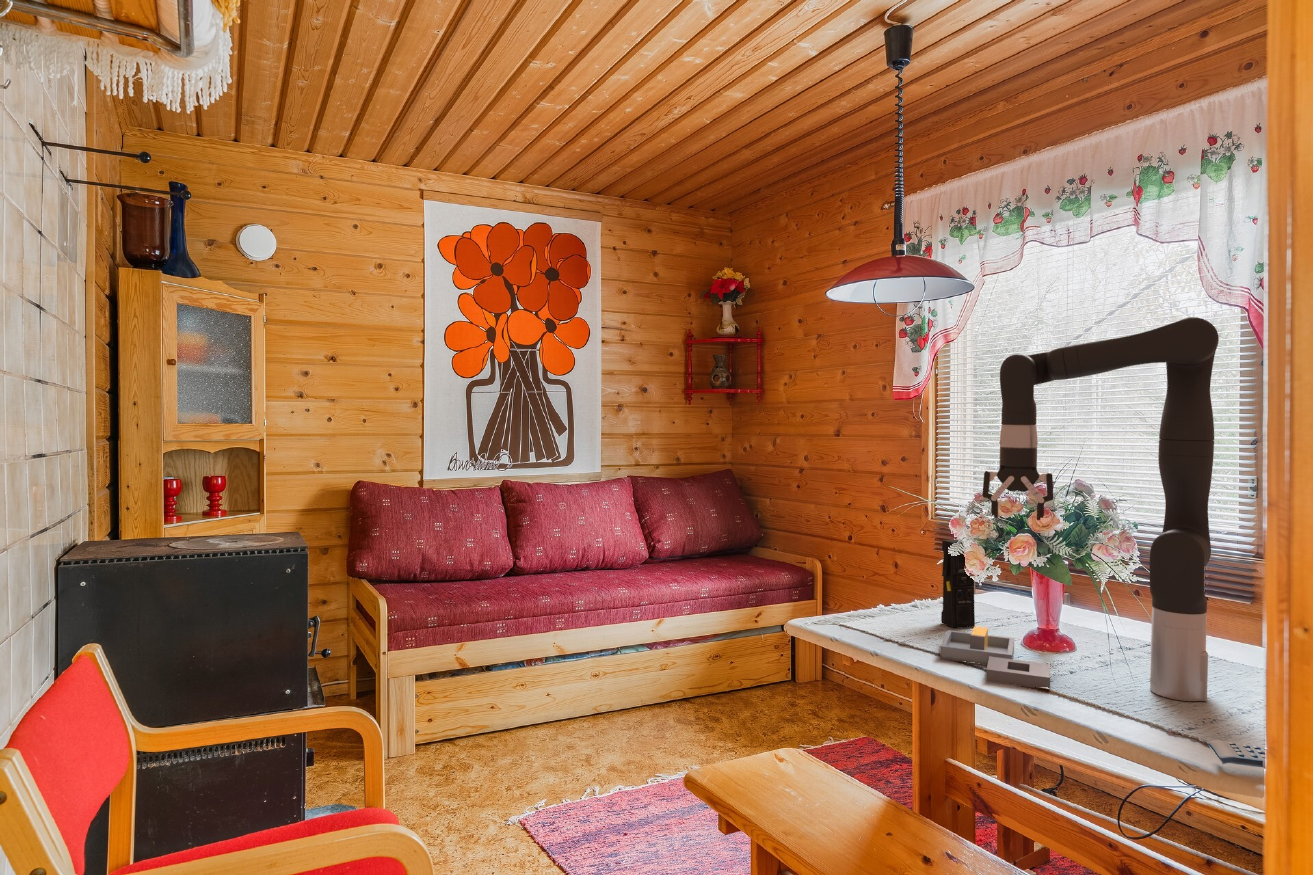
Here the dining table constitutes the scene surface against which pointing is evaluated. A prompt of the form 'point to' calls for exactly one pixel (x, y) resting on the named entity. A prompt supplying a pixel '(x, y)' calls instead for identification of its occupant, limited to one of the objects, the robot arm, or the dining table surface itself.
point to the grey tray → (959, 649)
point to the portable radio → (956, 591)
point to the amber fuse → (979, 638)
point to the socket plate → (1018, 672)
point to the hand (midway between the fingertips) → (1017, 518)
